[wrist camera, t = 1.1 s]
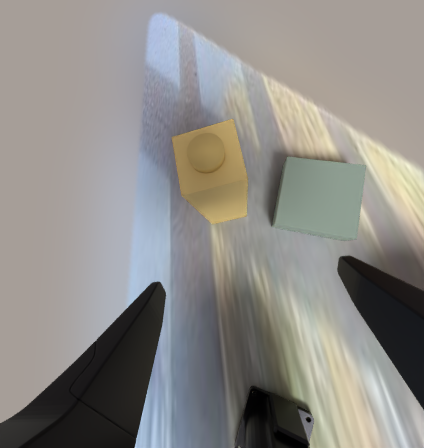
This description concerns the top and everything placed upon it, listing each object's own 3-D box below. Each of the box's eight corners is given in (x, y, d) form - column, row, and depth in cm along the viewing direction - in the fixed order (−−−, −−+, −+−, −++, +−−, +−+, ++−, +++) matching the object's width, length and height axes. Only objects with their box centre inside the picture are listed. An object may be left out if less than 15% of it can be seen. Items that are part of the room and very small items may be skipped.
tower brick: (246, 216, 23) (248, 173, 11) (212, 224, 24) (177, 191, 12) (238, 183, 24) (232, 109, 12) (205, 192, 25) (167, 129, 12)
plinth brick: (343, 240, 21) (356, 239, 19) (271, 227, 23) (274, 223, 20) (352, 175, 22) (366, 165, 20) (283, 166, 24) (287, 156, 21)
